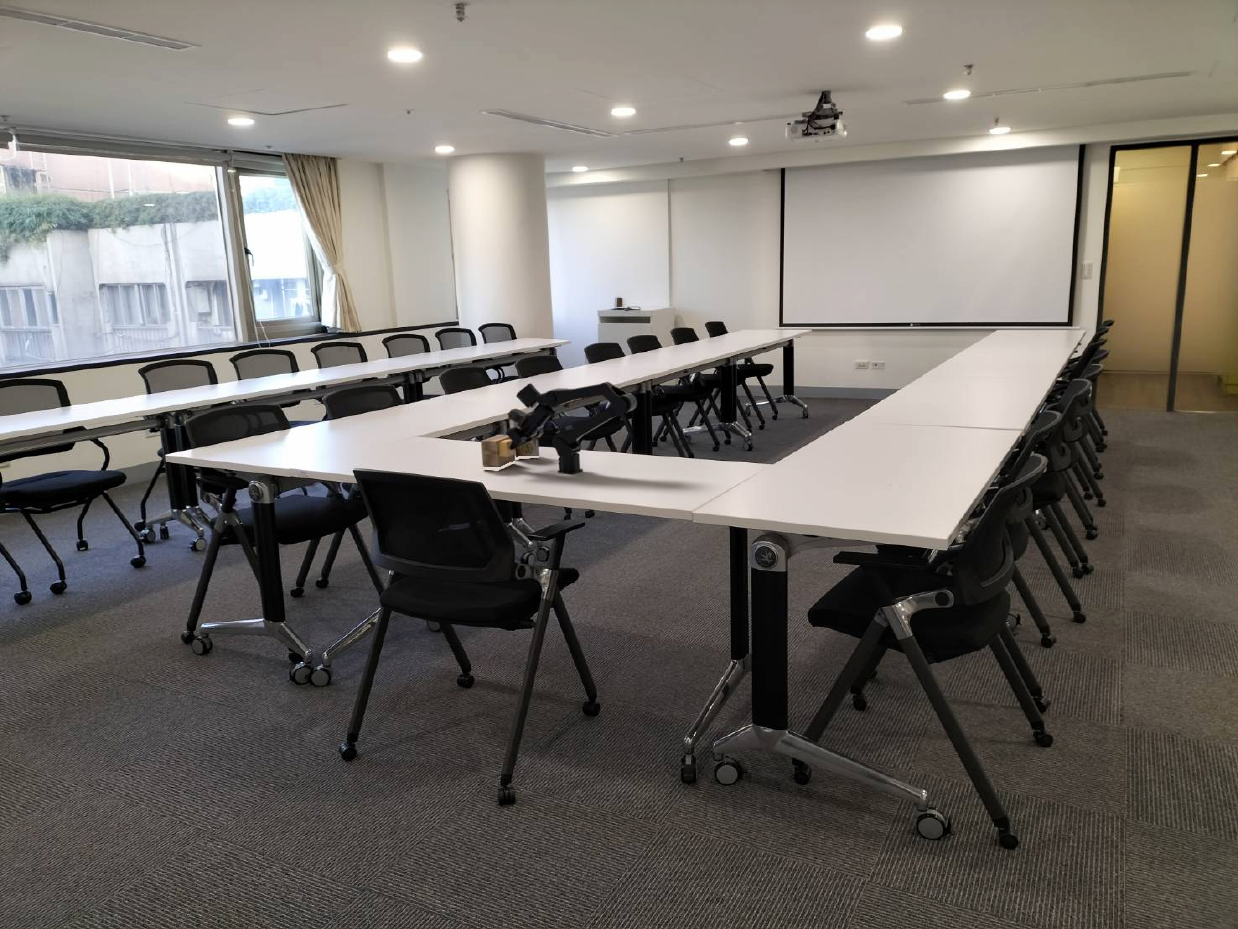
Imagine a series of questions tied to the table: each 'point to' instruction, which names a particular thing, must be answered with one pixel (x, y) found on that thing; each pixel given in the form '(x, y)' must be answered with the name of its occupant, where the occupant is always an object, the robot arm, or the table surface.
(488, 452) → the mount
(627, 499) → the table surface
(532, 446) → the coffee box
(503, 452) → the knob
